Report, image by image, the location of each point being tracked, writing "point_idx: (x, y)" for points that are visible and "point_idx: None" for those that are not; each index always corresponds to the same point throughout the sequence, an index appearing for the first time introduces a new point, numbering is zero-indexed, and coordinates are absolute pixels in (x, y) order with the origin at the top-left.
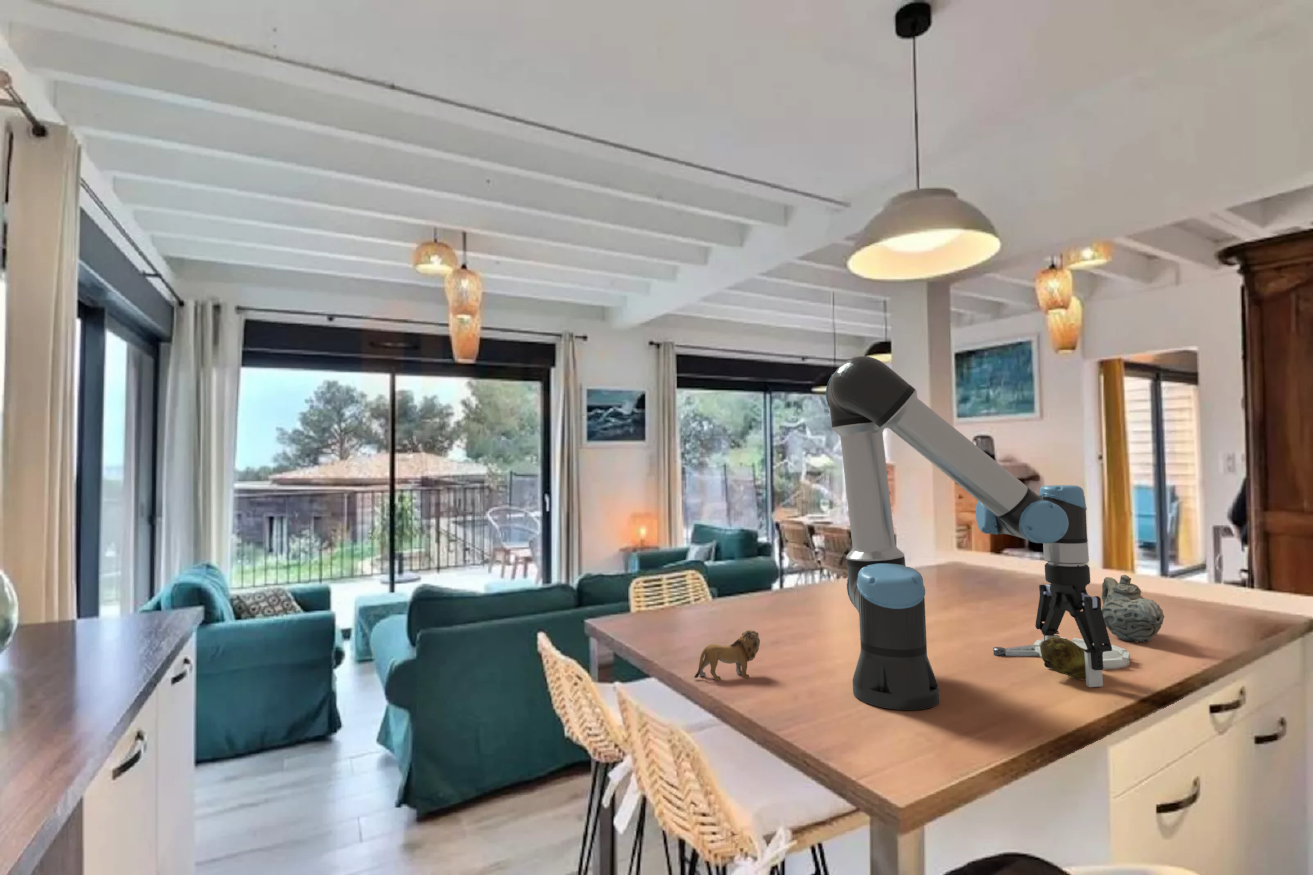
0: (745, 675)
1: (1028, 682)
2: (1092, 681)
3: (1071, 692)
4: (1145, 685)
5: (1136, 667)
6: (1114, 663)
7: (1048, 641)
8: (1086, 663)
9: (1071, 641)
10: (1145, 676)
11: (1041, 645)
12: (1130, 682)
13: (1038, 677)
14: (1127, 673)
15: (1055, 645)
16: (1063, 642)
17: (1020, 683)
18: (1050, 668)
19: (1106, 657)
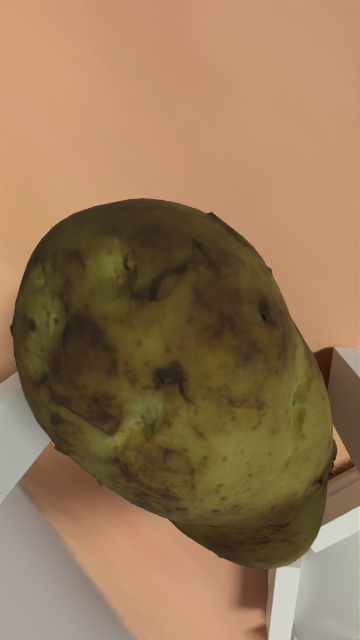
0: None
1: (172, 92)
2: None
3: (22, 222)
4: (91, 526)
5: (265, 637)
6: (269, 599)
7: (146, 287)
8: (10, 385)
9: (146, 503)
10: (174, 590)
11: (209, 229)
12: (123, 510)
13: (238, 209)
14: (213, 571)
15: (50, 287)
16: (45, 385)
17: (162, 25)
18: (333, 354)
19: (343, 630)
